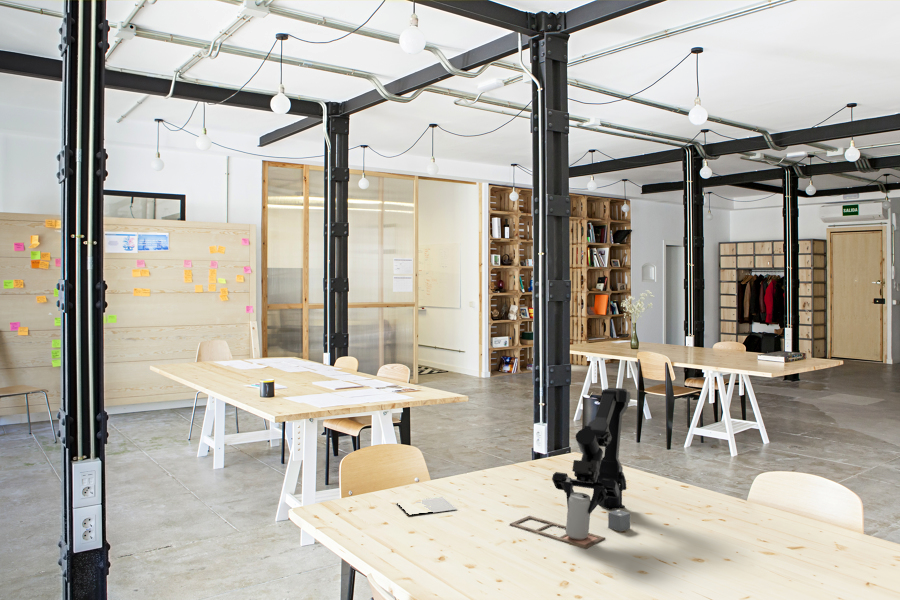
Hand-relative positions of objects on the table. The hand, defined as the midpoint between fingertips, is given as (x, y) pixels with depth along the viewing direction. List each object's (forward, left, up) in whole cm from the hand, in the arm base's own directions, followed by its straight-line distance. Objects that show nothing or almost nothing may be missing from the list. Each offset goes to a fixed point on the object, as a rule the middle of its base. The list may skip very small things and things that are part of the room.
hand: (578, 511), depth 184 cm
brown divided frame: (+2, -9, -8) cm, 12 cm away
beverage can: (0, -2, -8) cm, 8 cm away
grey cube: (-17, -4, -8) cm, 19 cm away
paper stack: (+34, -40, -9) cm, 53 cm away
